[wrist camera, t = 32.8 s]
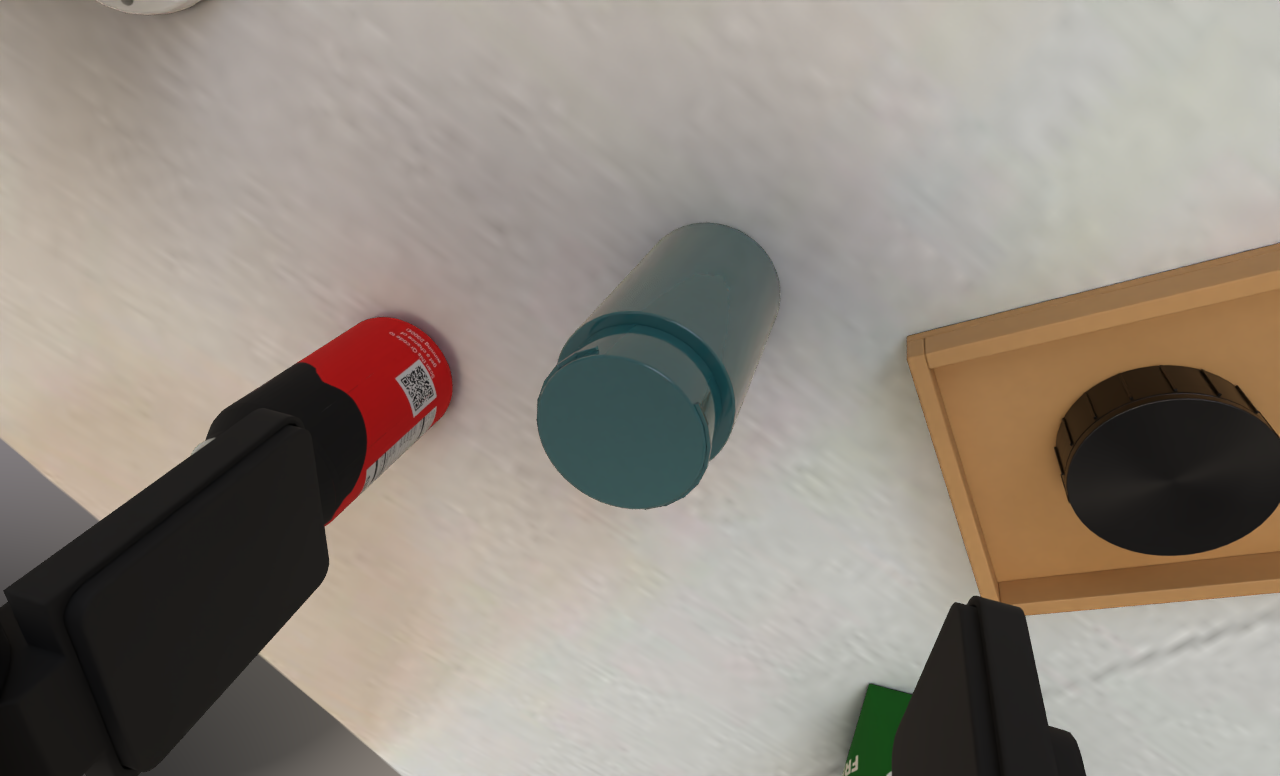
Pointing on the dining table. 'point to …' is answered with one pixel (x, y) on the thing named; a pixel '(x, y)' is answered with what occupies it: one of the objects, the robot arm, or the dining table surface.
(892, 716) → the milk carton
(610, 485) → the jar
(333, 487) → the beverage can
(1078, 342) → the tray
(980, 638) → the robot arm
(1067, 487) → the lid
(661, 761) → the dining table surface
